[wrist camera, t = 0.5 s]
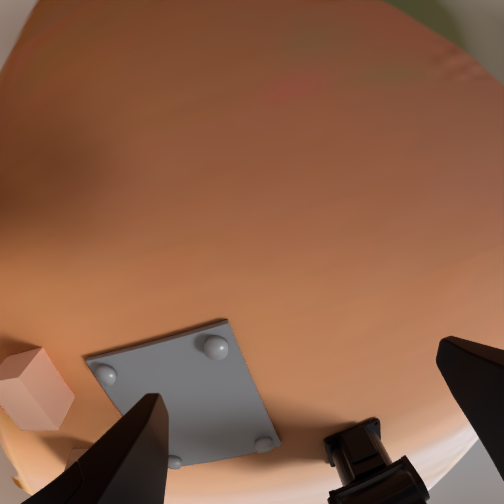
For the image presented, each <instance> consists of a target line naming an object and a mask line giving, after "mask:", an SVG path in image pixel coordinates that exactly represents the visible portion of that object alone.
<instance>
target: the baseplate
mask: <svg viewBox="0 0 504 504" xmlns="http://www.w3.org/2000/svg"><path fill="white" fill-rule="evenodd" d="M86 363H87V364H88V366H89V368H90V369H91V371H92V372H93V374H94V375H95V377H96V379H97V380H98V381H99V383H100V384H101V386H102V387H103V389H104V390H105V392H106V393H107V394H108V396H109V397H110V399H111V400H112V401H113V403H114V404H115V405H116V407H117V408H118V410H119V411H120V412H121V413H122V415H123V416H124V415H125V414H126V413H127V412H128V411H129V410H130V409H131V408H132V407H133V406H134V405H135V404H136V403H137V402H138V401H139V400H140V399H141V398H142V397H143V396H144V395H145V394H147V393H160V394H161V396H162V398H163V401H164V403H165V406H166V408H167V411H168V415H169V461H168V468H170V469H179V468H181V466H187V465H194V464H200V463H207V462H213V461H218V460H223V459H229V458H233V457H238V456H243V455H247V454H252V453H256V452H260V453H266V452H269V451H271V450H272V449H273V448H275V447H279V446H282V445H281V441H280V439H279V437H278V435H277V432H276V430H275V428H274V426H273V424H272V421H271V419H270V417H269V415H268V413H267V410H266V408H265V406H264V404H263V401H262V399H261V397H260V395H259V392H258V390H257V388H256V385H255V383H254V381H253V378H252V376H251V374H250V371H249V369H248V367H247V364H246V362H245V360H244V357H243V355H242V352H241V350H240V348H239V345H238V343H237V340H236V338H235V336H234V333H233V331H232V328H231V326H230V323H229V321H228V320H224V321H221V322H218V323H215V324H211V325H208V326H205V327H201V328H198V329H194V330H191V331H187V332H184V333H180V334H177V335H173V336H170V337H166V338H163V339H159V340H155V341H152V342H148V343H144V344H140V345H136V346H133V347H129V348H125V349H121V350H117V351H113V352H109V353H105V354H101V355H96V356H92V357H88V358H87V360H86Z"/></svg>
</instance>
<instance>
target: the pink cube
mask: <svg viewBox="0 0 504 504" xmlns="http://www.w3.org/2000/svg"><path fill="white" fill-rule="evenodd" d="M74 399H75V395H74V394H73V393H72V391H71V390H70V388H69V387H68V386H67V384H66V383H65V381H64V380H63V378H62V377H61V375H60V374H59V372H58V371H57V369H56V368H55V366H54V365H53V363H52V362H51V360H50V358H49V357H48V355H47V354H46V352H45V350H44V349H43V347H42V348H38V349H34V350H30V351H26V352H22V353H19V354H15V355H11V356H7V357H6V359H5V360H4V361H3V362H2V363H1V364H0V405H1V406H2V408H3V409H4V410H5V411H6V413H7V414H8V415H9V417H10V418H11V419H12V420H13V422H14V423H15V424H16V425H17V426H18V428H19V429H20V430H59V428H60V426H61V424H62V422H63V420H64V418H65V416H66V414H67V412H68V410H69V408H70V406H71V404H72V402H73V400H74Z"/></svg>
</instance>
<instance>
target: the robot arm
mask: <svg viewBox="0 0 504 504" xmlns="http://www.w3.org/2000/svg"><path fill="white" fill-rule="evenodd" d="M436 364H437V366H438V368H439V370H440V372H441V374H442V376H443V378H444V379H445V381H446V383H447V385H448V387H449V389H450V391H451V393H452V395H453V397H454V398H455V400H456V402H457V403H458V405H459V406H460V408H461V409H462V411H463V412H464V414H465V416H466V417H467V419H468V420H469V422H470V424H471V425H472V427H473V428H474V430H475V432H476V433H477V435H478V437H479V438H480V440H481V442H482V443H483V445H484V447H485V448H486V450H487V452H488V454H489V455H490V457H491V459H492V461H493V462H494V464H495V466H496V468H497V470H498V472H499V473H500V475H501V477H502V479H503V481H504V350H502V349H498V348H494V347H491V346H487V345H483V344H480V343H476V342H472V341H469V340H465V339H461V338H458V337H454V336H448V337H445V338H443V339H441V341H440V343H439V347H438V352H437V356H436ZM324 445H325V448H326V452H327V455H328V459H329V462H330V465H331V467H335V466H336V469H337V471H338V474H339V477H340V479H341V482H342V485H343V487H341V488H339V489H336V490H332V491H329V495H330V497H329V498H328V499H327V500H328V503H329V504H426V501H427V500H428V499H429V498H430V496H429V493H428V491H427V488H426V486H425V484H424V482H423V480H422V479H421V477H420V476H419V474H418V473H417V471H416V470H415V468H414V467H413V465H412V464H411V463H410V461H409V460H408V458H407V457H406V455H404V456H403V457H401V459H399V460H397V461H395V462H393V463H392V461H391V459H390V457H389V455H388V453H387V452H386V450H385V448H384V446H383V444H382V442H381V432H380V421H379V419H378V418H376V419H373V420H371V421H368V422H366V423H364V424H361V425H359V426H357V427H354V428H352V429H349V430H346V431H344V432H341V433H339V434H336V435H333V436H330V437H328V438H326V439H324ZM168 461H169V415H168V411H167V408H166V406H165V403H164V401H163V398H162V396H161V394H160V393H147V394H145V395H144V396H143V397H142V398H141V399H140V400H139V401H138V402H137V403H136V404H135V405H134V406H133V407H132V408H131V409H130V410H129V411H128V412H127V413H126V414H125V415H124V416H123V417H121V418H120V419H119V420H118V421H117V422H116V423H115V424H114V425H113V426H112V427H111V428H110V429H109V430H108V431H107V432H106V433H105V434H104V435H103V436H102V437H101V438H100V439H99V440H97V441H96V442H95V443H94V444H93V445H92V446H91V447H90V448H89V449H88V450H87V451H86V452H85V453H84V454H83V455H82V456H80V457H79V458H78V460H77V461H75V462H74V463H73V464H72V465H71V466H70V467H69V468H67V469H66V470H65V471H64V472H63V473H62V474H61V475H59V476H58V477H57V478H56V479H54V480H53V481H52V482H51V483H49V484H48V485H47V486H45V487H44V488H42V489H41V490H40V491H38V492H37V493H35V494H34V495H33V496H31V497H30V498H28V499H27V500H25V501H24V502H22V503H21V504H164V496H165V487H166V479H167V470H168Z"/></svg>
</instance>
